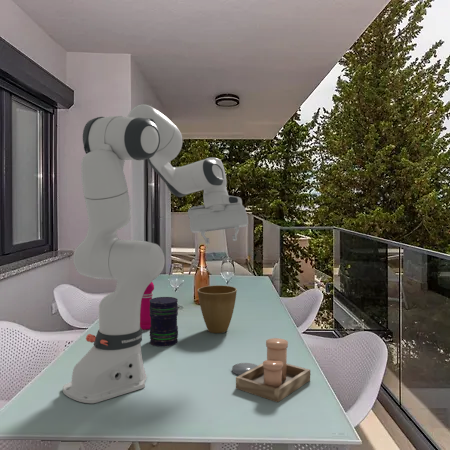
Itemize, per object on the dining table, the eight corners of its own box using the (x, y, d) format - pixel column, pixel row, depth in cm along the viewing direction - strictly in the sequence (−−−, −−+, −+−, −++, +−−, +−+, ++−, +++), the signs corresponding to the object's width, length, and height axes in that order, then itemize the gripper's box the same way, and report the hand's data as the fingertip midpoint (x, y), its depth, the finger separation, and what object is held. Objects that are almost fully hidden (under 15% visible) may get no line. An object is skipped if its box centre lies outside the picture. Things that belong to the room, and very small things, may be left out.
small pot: (276, 395, 112) (276, 368, 111) (258, 390, 115) (259, 363, 115) (286, 388, 116) (286, 362, 116) (269, 383, 119) (269, 358, 119)
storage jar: (158, 336, 162) (158, 295, 161) (182, 339, 159) (182, 298, 158) (144, 344, 153) (143, 301, 152) (169, 348, 149) (169, 304, 148)
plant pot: (211, 323, 179) (211, 283, 178) (243, 328, 172) (243, 287, 171) (189, 332, 167) (189, 290, 166) (223, 339, 159) (223, 295, 158)
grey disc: (249, 378, 125) (249, 375, 125) (226, 371, 130) (226, 368, 129) (264, 369, 131) (264, 367, 131) (242, 363, 136) (242, 360, 136)
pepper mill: (152, 330, 169) (151, 278, 168) (134, 329, 170) (133, 277, 169) (158, 325, 176) (158, 275, 175) (141, 324, 177) (141, 274, 176)
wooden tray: (277, 402, 110) (277, 390, 110) (235, 388, 118) (235, 377, 118) (310, 380, 123) (310, 369, 123) (270, 369, 131) (270, 359, 131)
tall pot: (280, 383, 119) (280, 346, 119) (261, 377, 123) (261, 342, 123) (291, 376, 124) (291, 341, 123) (273, 371, 128) (273, 336, 127)
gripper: (186, 204, 153) (190, 243, 149) (245, 197, 152) (250, 236, 149) (188, 209, 159) (192, 247, 155) (245, 202, 158) (250, 240, 155)
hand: (221, 242), depth 152 cm, fingers open, 8 cm apart
